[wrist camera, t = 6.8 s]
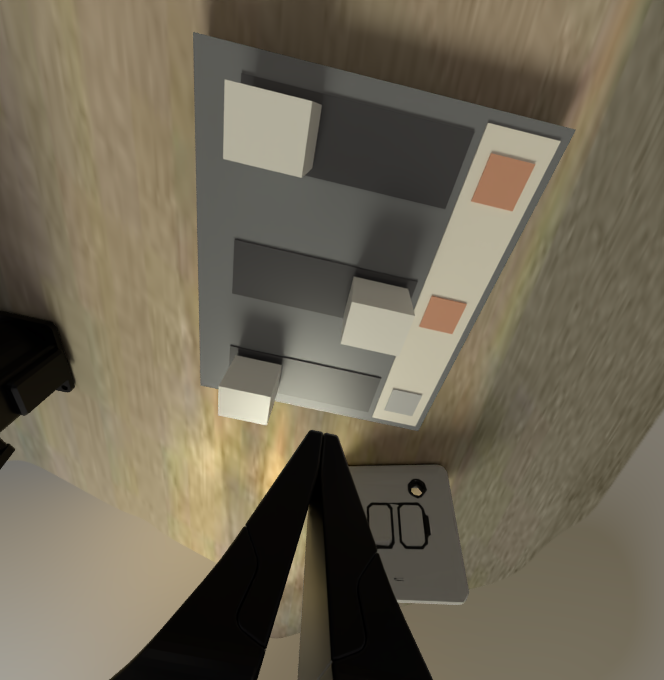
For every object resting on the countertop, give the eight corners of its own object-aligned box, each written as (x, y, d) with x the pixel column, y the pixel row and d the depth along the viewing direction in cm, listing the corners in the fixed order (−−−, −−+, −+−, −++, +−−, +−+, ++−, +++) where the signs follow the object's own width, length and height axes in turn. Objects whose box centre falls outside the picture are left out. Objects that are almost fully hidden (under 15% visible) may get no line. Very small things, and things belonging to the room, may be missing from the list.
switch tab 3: (343, 314, 19) (340, 343, 17) (353, 276, 18) (351, 301, 15) (394, 325, 19) (398, 356, 17) (408, 288, 18) (415, 315, 15)
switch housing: (208, 372, 25) (199, 387, 23) (208, 39, 14) (191, 30, 13) (415, 415, 26) (418, 433, 24) (558, 129, 15) (578, 129, 14)
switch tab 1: (246, 152, 15) (222, 158, 12) (250, 87, 14) (224, 79, 11) (312, 168, 15) (301, 177, 13) (322, 104, 14) (312, 101, 11)
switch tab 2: (234, 382, 23) (217, 415, 20) (235, 355, 21) (218, 386, 19) (277, 392, 23) (266, 425, 20) (281, 365, 21) (270, 397, 19)
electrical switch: (446, 461, 28) (474, 594, 21) (442, 491, 31) (466, 616, 24) (337, 462, 30) (328, 588, 22) (344, 491, 33) (339, 610, 26)
